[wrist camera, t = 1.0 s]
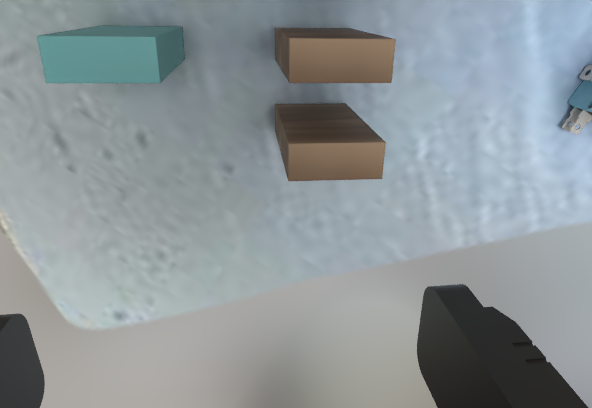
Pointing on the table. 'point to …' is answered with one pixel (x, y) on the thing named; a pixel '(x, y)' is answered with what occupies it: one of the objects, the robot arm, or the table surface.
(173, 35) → the tile
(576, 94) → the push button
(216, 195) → the table surface
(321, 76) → the tile
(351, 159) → the tile
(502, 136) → the table surface
